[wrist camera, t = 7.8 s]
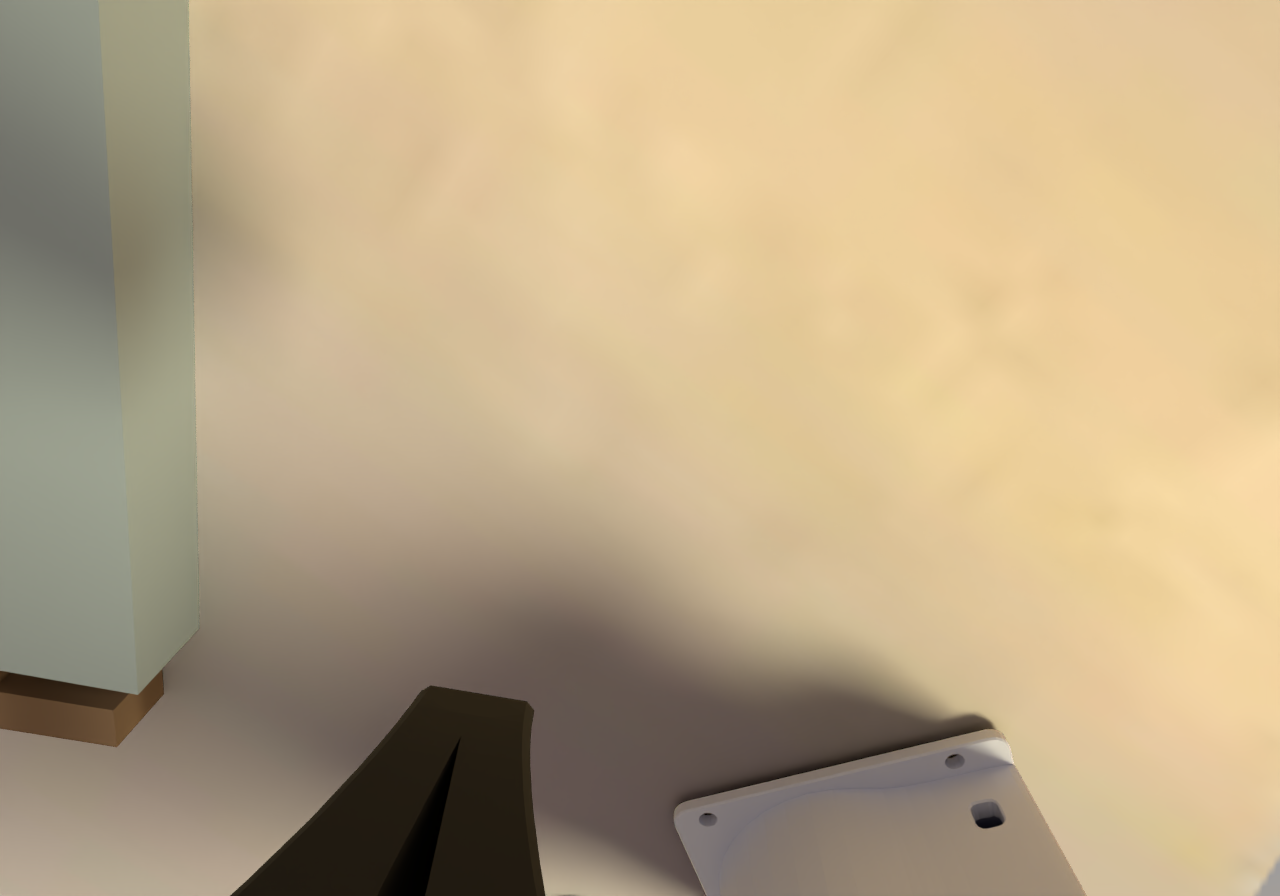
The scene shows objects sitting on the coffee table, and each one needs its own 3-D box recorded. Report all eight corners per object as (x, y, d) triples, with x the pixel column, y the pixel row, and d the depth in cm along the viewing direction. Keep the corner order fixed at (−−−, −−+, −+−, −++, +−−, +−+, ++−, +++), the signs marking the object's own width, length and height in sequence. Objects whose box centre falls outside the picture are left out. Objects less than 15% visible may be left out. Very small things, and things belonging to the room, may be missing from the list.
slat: (197, -54, 15) (93, -96, 12) (206, 620, 21) (138, 694, 18) (-14, -103, 15) (-170, -156, 12) (57, 593, 21) (-36, 664, 18)
